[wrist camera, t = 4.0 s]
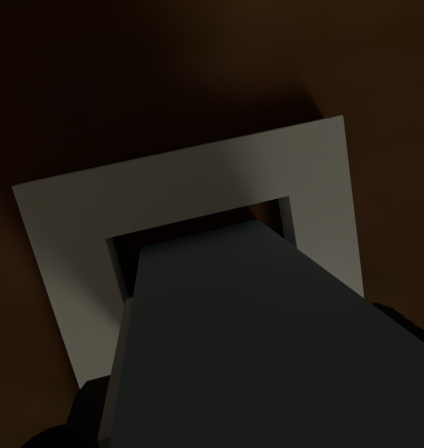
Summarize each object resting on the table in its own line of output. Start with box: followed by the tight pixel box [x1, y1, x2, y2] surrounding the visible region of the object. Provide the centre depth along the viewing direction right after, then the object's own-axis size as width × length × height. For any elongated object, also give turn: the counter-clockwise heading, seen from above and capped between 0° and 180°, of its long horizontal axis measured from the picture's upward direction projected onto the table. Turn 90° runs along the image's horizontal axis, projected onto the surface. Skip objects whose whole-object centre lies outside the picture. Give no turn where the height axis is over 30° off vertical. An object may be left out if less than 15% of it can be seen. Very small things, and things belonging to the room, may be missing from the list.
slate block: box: [109, 219, 424, 448], centre depth 10 cm, size 5×5×12 cm
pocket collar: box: [12, 115, 364, 389], centre depth 15 cm, size 12×12×2 cm
